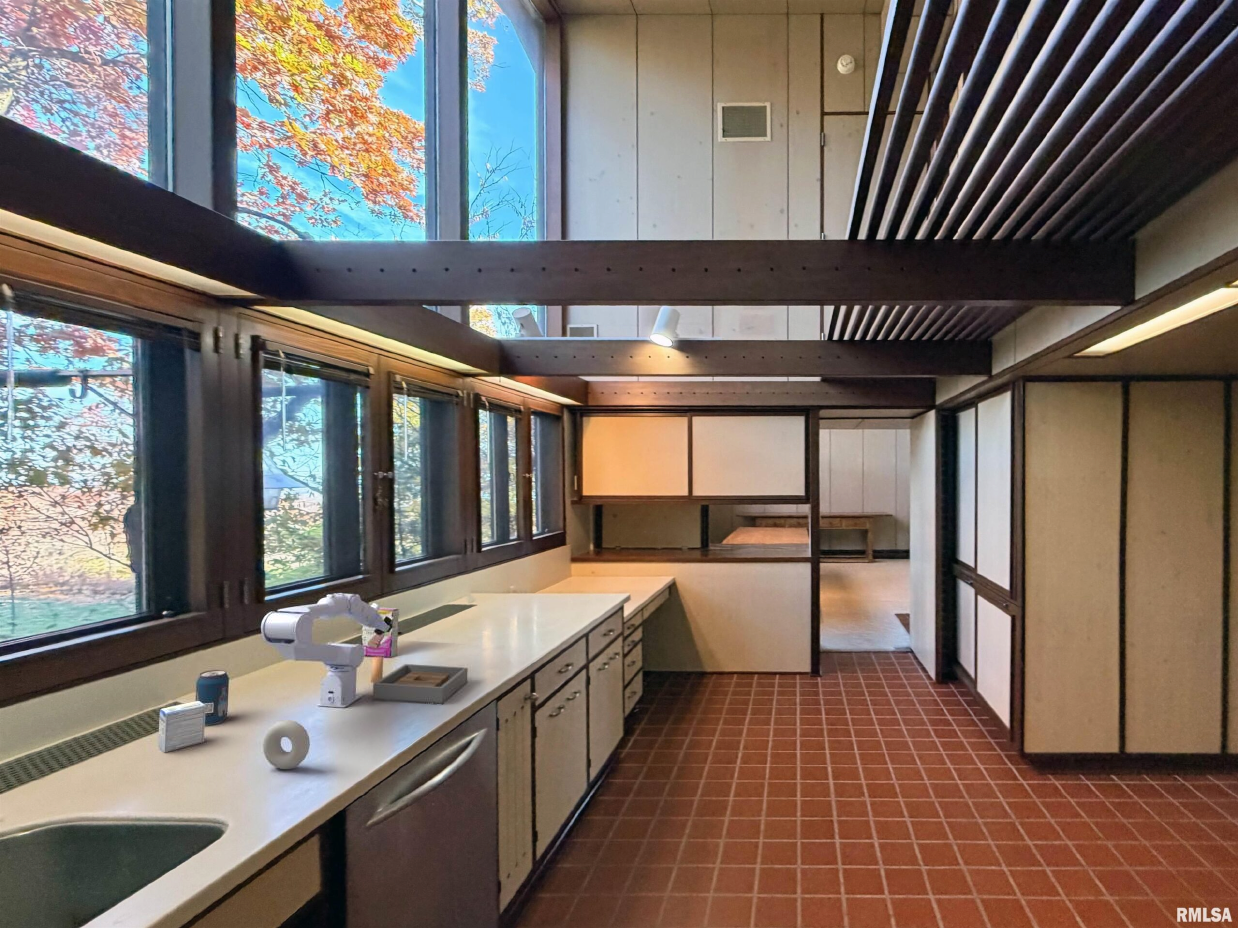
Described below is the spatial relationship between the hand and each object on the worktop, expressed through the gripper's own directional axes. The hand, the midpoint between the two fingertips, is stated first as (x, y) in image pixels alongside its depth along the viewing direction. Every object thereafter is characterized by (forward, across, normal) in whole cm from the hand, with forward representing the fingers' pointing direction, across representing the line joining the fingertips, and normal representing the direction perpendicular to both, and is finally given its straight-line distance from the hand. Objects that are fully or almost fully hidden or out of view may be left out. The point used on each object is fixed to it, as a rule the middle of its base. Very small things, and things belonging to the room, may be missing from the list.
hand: (381, 622), depth 198 cm
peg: (+5, -8, +14) cm, 17 cm away
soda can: (-30, +5, +39) cm, 50 cm away
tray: (-1, -25, +9) cm, 26 cm away
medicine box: (-43, -1, +43) cm, 61 cm away
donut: (-49, -29, +31) cm, 65 cm away
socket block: (-1, -25, +9) cm, 26 cm away
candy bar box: (+29, +9, +11) cm, 32 cm away
